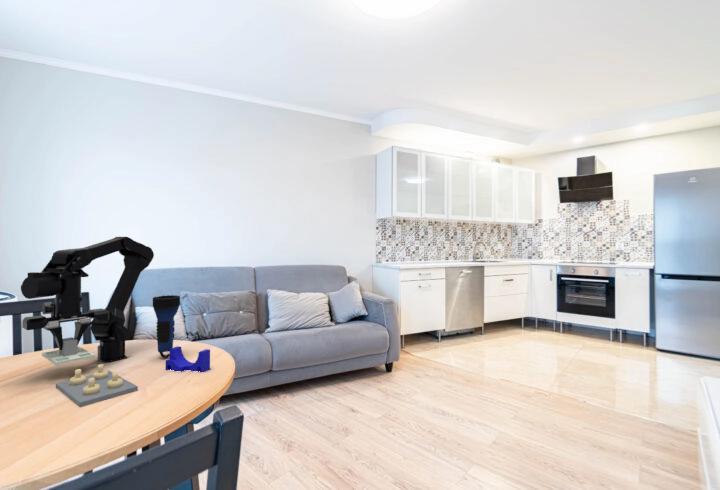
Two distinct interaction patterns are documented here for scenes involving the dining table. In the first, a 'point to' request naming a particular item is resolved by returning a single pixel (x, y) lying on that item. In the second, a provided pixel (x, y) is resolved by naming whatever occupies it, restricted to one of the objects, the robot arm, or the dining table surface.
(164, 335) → the flashlight
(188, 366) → the blue u-shaped cradle
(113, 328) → the robot arm
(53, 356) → the board
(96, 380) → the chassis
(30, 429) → the dining table surface
